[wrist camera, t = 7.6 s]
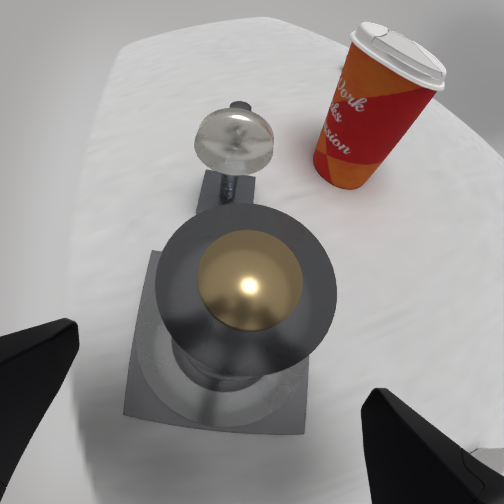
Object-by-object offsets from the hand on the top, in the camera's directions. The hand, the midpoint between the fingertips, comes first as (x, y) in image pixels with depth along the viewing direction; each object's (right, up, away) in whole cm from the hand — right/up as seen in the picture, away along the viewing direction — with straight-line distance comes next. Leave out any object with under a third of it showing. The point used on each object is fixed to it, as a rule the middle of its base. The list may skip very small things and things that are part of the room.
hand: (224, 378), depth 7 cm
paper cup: (+9, +11, +19) cm, 24 cm away
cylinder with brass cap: (-1, -2, +8) cm, 8 cm away
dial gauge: (-1, +8, +15) cm, 17 cm away
